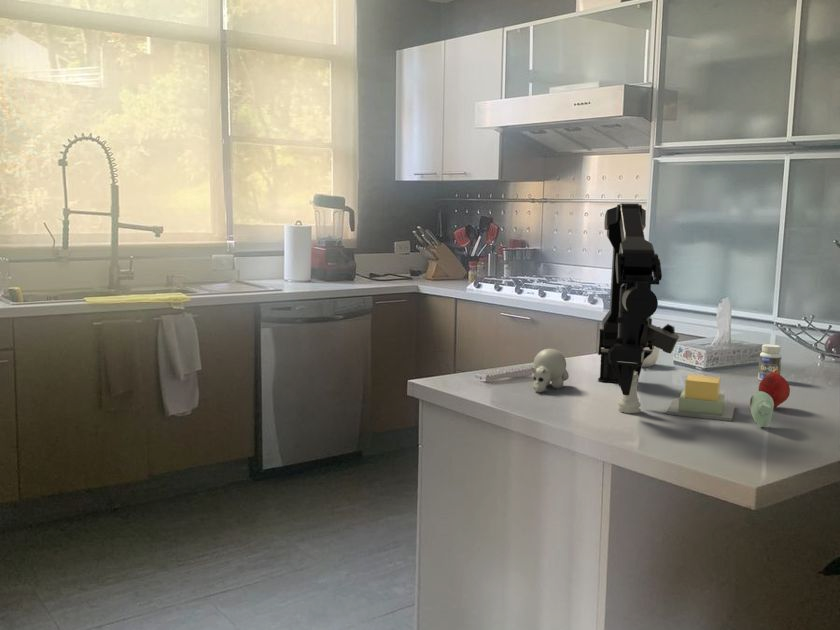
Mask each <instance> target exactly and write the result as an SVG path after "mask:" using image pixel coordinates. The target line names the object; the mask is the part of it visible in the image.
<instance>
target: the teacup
mask: <svg viewBox="0 0 840 630" xmlns="http://www.w3.org/2000/svg"><path fill="white" fill-rule="evenodd" d="M646 350H650V348H648V347H646ZM652 351H653V352H652V353H651V354H650V355H649V356H648V357H647V358H645V359H644V362H643V365H642V368H649V367H652V366H654V365H655V364H656V363H657V361H658V358H659V354H660V348H657V347H655V346H654V349H653V350H652Z"/></svg>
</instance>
